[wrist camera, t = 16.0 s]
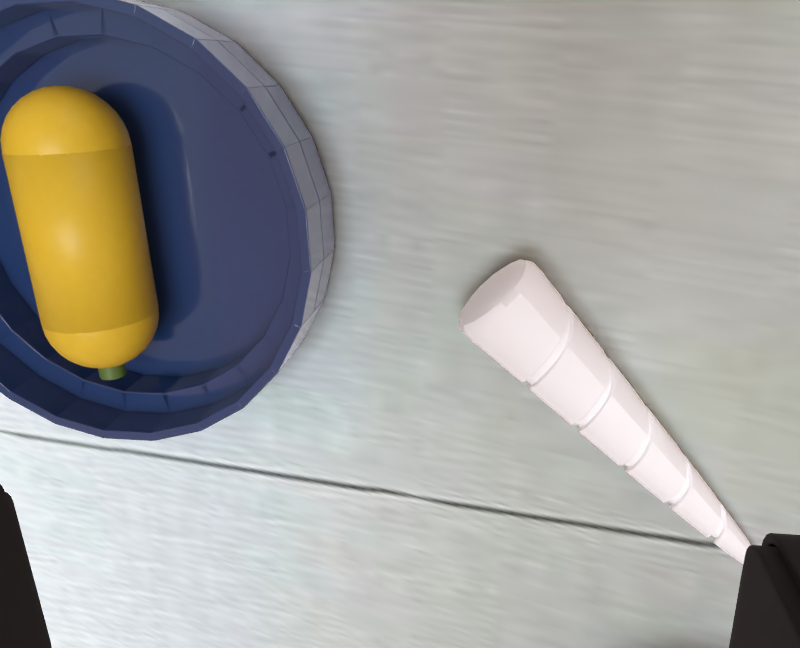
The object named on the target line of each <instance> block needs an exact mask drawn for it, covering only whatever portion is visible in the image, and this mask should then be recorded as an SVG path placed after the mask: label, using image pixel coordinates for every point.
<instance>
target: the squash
mask: <svg viewBox="0 0 800 648" xmlns="http://www.w3.org/2000/svg"><path fill="white" fill-rule="evenodd" d="M1 149H2V156H3V161H4V165H5V169H6V174H7V178H8V182H9V187H10V191H11V195H12V200H13V204H14V209H15V213H16V217H17V222H18V226H19V230H20V235H21V239H22V243H23V248H24V252H25V256H26V261H27V265H28V269H29V274H30V278H31V282H32V287H33V291H34V295H35V300H36V304H37V309H38V313H39V317H40V322H41V325H42V328H43V331H44V334H45V337H46V338H47V340H48V341H49V343H50V344H51V346H52V347H53V348H54V349H55V350H56V351H57V352H58V353H59V354H60V355H61V356H63V357H64V358H66V359H67V360H69V361H71V362H73V363H75V364H78V365H81V366H84V367H89V368H98V372H99V376H100V378H101V379H102V380H115V379H119V378H121V377H123V376H125V375H126V373H127V370H126V365H125V363H127V362H129V361H131V360H132V359H134V358H136V357H137V356H138V355H139V354H140V353H142V352H143V351H144V350H145V349H146V348H147V346H148V345H149V343H150V342H151V341H152V339H153V337H154V335H155V332H156V330H157V326H158V320H159V308H158V307H159V306H158V300H157V294H156V288H155V282H154V276H153V270H152V264H151V258H150V252H149V246H148V240H147V233H146V227H145V221H144V215H143V209H142V203H141V197H140V191H139V185H138V179H137V173H136V167H135V161H134V155H133V149H132V143H131V140H130V136H129V132H128V130H127V128H126V126H125V124H124V122H123V120H122V119H121V118H120V116H119V115H118V113H117V112H116V111H115V110H114V109H113V108H112V107H111V106H110V105H109V104H108V103H107V102H106V101H104V100H103V99H101V98H100V97H98V96H97V95H95V94H93V93H90V92H88V91H86V90H84V89H80V88H76V87H72V86H60V85H55V86H48V87H42V88H39V89H37V90H34V91H31V92H30V93H28V94H26V95H25V96H23V97H21V98H20V99H19V100H18V101H17V102H16V103H15V104H14V105H13V106H12V107H11V109H10V111H9V112H8V114H7V115H6V117H5V120H4V123H3V126H2V131H1Z"/></svg>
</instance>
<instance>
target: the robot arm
mask: <svg viewBox="0 0 800 648" xmlns="http://www.w3.org/2000/svg"><path fill="white" fill-rule="evenodd" d="M0 648H51V642H50V638H49V634H48V630H47V627H46V623H45V619H44V615H43V612H42V608H41V604H40V600H39V597H38V593H37V589H36V585H35V582H34V578H33V574H32V570H31V567H30V563H29V559H28V555H27V552H26V548H25V544H24V541H23V537H22V533H21V529H20V526H19V522H18V518H17V514H16V511H15V507H14V503H13V500H12V498H11V496H10V495H9V494H8V493H6V492H5V491H4V489H3V487H2V486H1V485H0ZM729 648H800V535H790V534H775V533H770V534H767V535H766V537H765V538H764V540H763V543H762V546H758V545H750V546H749V547H748V548H747V550H746V554H745V558H744V564H743V570H742V575H741V581H740V587H739V593H738V599H737V605H736V610H735V616H734V622H733V628H732V634H731V639H730V645H729Z"/></svg>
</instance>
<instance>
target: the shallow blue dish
mask: <svg viewBox="0 0 800 648" xmlns="http://www.w3.org/2000/svg"><path fill="white" fill-rule="evenodd" d="M55 85H60V86H72V87H76V88H80V89H84V90H86V91H88V92H90V93H93V94H95V95H97V96H98V97H100V98H101V99H103V100H104V101H106V102H107V103H108V104H109V105H110V106H111V107H112V108H113V109H114V110H115V111H116V112H117V113H118V115H119V116H120V118H121V119H122V120H123V122H124V124H125V126H126V128H127V130H128V132H129V136H130V140H131V143H132V149H133V155H134V161H135V167H136V173H137V179H138V185H139V191H140V197H141V203H142V209H143V215H144V221H145V227H146V233H147V240H148V246H149V252H150V258H151V264H152V270H153V276H154V282H155V288H156V294H157V300H158V306H159V307H158V308H159V320H158V326H157V330H156V332H155V335H154V337H153V339H152V341H151V342H150V343H149V345H148V346H147V348H146V349H145V350H144V351H143V352H142V353H140V354H139V355H138V356H137V357H136V358H134V359H132V360H131V361H129V362H127V363H125V365H126V370H127V373H126V375H125V376H123V377H121V378H119V379H115V380H102V379H101V378H100V376H99V372H98V368H89V367H84V366H81V365H78V364H75V363H73V362H71V361H69V360H67V359H66V358H64V357H63V356H61V355H60V354H59V353H58V352H57V351H56V350H55V349H54V348H53V347H52V346H51V344H50V343H49V341H48V340H47V338H46V337H45V334H44V331H43V328H42V325H41V322H40V317H39V313H38V309H37V304H36V300H35V295H34V291H33V287H32V282H31V278H30V274H29V269H28V265H27V261H26V256H25V252H24V248H23V243H22V239H21V235H20V230H19V226H18V222H17V217H16V213H15V209H14V204H13V200H12V195H11V191H10V187H9V182H8V178H7V174H6V169H5V165H4V161H3V156H2V149H1V131H2V126H3V123H4V120H5V117H6V115H7V114H8V112H9V111H10V109H11V107H12V106H13V105H14V104H15V103H16V102H17V101H18V100H19V99H20V98H21V97H23V96H25V95H26V94H28V93H30V92H31V91H34V90H37V89H39V88H42V87H48V86H55ZM330 193H331V192H330V189H329V186H328V183H327V180H326V176H325V173H324V170H323V167H322V164H321V161H320V158H319V155H318V152H317V149H316V146H315V143H314V140H313V138H312V137H311V134H310V133H309V131H308V129H307V128H306V126H305V125H304V123H303V121H302V120H301V118H300V117H299V115H298V113H297V112H296V110H295V109H294V107H293V105H292V104H291V102H290V101H289V99H288V97H287V96H286V94H285V93H284V91H283V89H282V88H281V87H280V86H279V84H278V83H277V82H276V81H275V80H274V79H273V78H272V77H271V76H270V75H269V74H268V73H267V72H266V71H265V70H264V69H263V68H262V67H261V66H260V65H259V64H258V63H257V62H256V61H255V60H254V59H253V58H252V57H251V56H250V55H249V54H248V53H246V52H245V51H244V50H243V49H242V48H241V47H240V46H239V45H238V44H237V43H236V42H235V41H233V40H231V39H230V38H228V37H226V36H224V35H223V34H221V33H219V32H217V31H216V30H214V29H212V28H210V27H209V26H207V25H205V24H203V23H202V22H200V21H198V20H196V19H195V18H193V17H191V16H189V15H188V14H186V13H184V12H182V11H178V10H174V9H170V8H166V7H162V6H158V5H154V4H150V3H146V2H142V1H138V0H0V392H1V393H2V394H4V395H5V396H6V397H8V398H9V399H11V400H13V401H14V402H16V403H18V404H20V405H22V406H24V407H25V408H27V409H29V410H31V411H33V412H35V413H36V414H38V415H40V416H42V417H44V418H46V419H47V420H49V421H51V422H53V423H55V424H58V425H61V426H65V427H68V428H71V429H75V430H78V431H82V432H85V433H88V434H92V435H95V436H99V437H102V438H111V439H130V440H149V441H153V440H154V441H155V440H160V439H165V438H169V437H174V436H179V435H184V434H188V433H193V432H198V431H201V430H204V429H206V428H207V427H209V426H211V425H213V424H215V423H217V422H219V421H220V420H222V419H224V418H226V417H228V416H230V415H232V414H234V413H235V412H237V411H239V410H241V409H243V408H244V407H245V406H246V405H247V404H248V403H249V402H250V401H251V400H252V399H253V398H254V397H255V396H256V395H257V394H258V393H259V392H260V391H261V390H262V389H263V388H264V387H265V386H266V385H267V384H268V383H269V382H270V381H271V380H272V379H273V377H274V376H275V375H276V374H277V373H278V372H279V371H280V369H281V368H282V367H283V366H284V364H285V363H286V362H287V360H288V359H289V358H290V357H291V355H292V354H293V353H294V351H295V350H296V349H297V348H298V346H299V345H300V344H301V343H302V341H303V340H304V338H305V336H306V334H307V332H308V330H309V328H310V326H311V324H312V322H313V320H314V318H315V317H316V315H317V313H318V311H319V309H320V307H321V305H322V303H323V301H324V298H325V295H326V289H327V284H328V279H329V274H330V269H331V264H332V259H333V254H334V248H335V245H334V230H333V216H332V201H331V194H330Z"/></svg>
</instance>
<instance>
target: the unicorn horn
mask: <svg viewBox="0 0 800 648" xmlns="http://www.w3.org/2000/svg"><path fill="white" fill-rule="evenodd" d="M459 324H460V330H461V331H462V332H463V333H464V334H465V335H466V336H467V337H468V338H469V339H470V340H471V341H473V342H474V343H475V344H476V345H477V346H479V347H480V348H481V349H482V350H483V351H485V352H486V353H487V354H488V355H489V356H491V357H492V358H493V359H494V360H495V361H496V362H498V363H499V364H500V365H501V366H502V367H504V368H505V369H506V370H507V371H508V372H509V373H511V374H512V375H513V376H514V377H515V378H516V379H518V380H519V381H520V382H524V381H527V382H528V383H529V385H528V389H529V390H531V391H532V392H533V393H534V394H535V395H536V396H538V397H539V398H540V399H541V400H542V401H543V402H545V403H546V404H547V405H548V406H549V407H550V408H552V409H553V410H554V411H555V412H556V413H557V414H559V415H560V416H561V417H562V418H563V419H564V420H566V421H567V422H568V423H569V424H570V425H574V424H577V425H578V432H580V433H581V434H582V435H583V436H584V437H586V438H587V439H588V440H589V441H590V442H591V443H593V444H594V445H595V446H596V447H597V448H599V449H600V450H601V451H602V452H603V453H605V454H606V455H607V456H608V457H609V458H610V459H612V460H613V461H614V462H615V463H616V464H618V465H619V466H621V465H623V464H625V471H626V472H627V473H628V474H629V475H631V476H632V477H633V478H634V479H635V480H637V481H638V482H639V483H640V484H641V485H643V486H644V487H645V488H646V489H648V490H649V491H650V492H651V493H652V494H654V495H655V496H656V497H657V498H658V499H660V500H661V501H662V502H663V503H666V502H668V501H669V502H670V508H671V509H672V510H673V511H674V512H676V513H677V514H678V515H679V516H681V517H682V518H683V519H684V520H686V521H687V522H688V523H689V524H691V525H692V526H693V527H694V528H696V529H697V530H698V531H699V532H701V533H702V534H703V535H704V536H706V537H707V538H708V537H710V536H713V537H714V538H715V540H714V541H713V543H715V544H716V545H717V546H719V547H720V548H721V549H722V550H724V551H725V552H726V553H728V554H729V555H730V556H732V557H733V558H734V559H736V560H737V561H738V562H740V563H741V564H742V565H743V564H744V558H745V554H746V550H747V548H748V547H749V546H750V545H751V544H750V543H749V541H748V539H747V538H746V536H745V535H744V534H743V532H742V531H741V529H740V528H739V527H738V525H737V524H736V523H735V521H734V520H733V518H732V517H731V516H730V514H729V513H728V512H727V510H726V509H725V508H724V506H723V505H722V504H721V502H720V501H718V499H717V498H716V496H715V494H714V493H713V492H712V490H711V489H710V488H709V486H708V485H707V484H706V482H705V481H704V480H703V478H702V477H701V476H700V474H699V473H698V472H697V470H696V469H695V468H694V466H693V465H692V464H691V463H690V461H689V460H688V459H687V457H686V456H685V455H684V454H683V453H682V452H681V450H680V448H679V447H678V446H677V444H676V443H675V442H674V440H673V439H672V438H671V436H670V435H669V434H668V433H667V431H666V430H665V429H664V427H663V426H662V425H661V424H660V422H659V421H658V420H657V418H656V417H655V416H654V415H653V413H652V412H651V411H650V409H649V408H648V407H646V406H645V405H644V403H643V401H642V399H641V398H640V397H639V395H638V394H637V393H636V391H635V390H634V389H633V387H632V386H631V385H630V384H629V382H628V381H627V380H626V379H625V377H624V376H623V375H622V373H621V372H620V371H619V370H618V368H617V367H616V366H615V365H614V363H613V362H612V361H611V359H610V358H608V357H607V356H606V355H605V353H604V351H603V349H602V348H601V347H600V345H599V344H598V343H597V342H596V340H595V339H594V338H593V336H592V335H591V334H590V333H589V331H588V330H587V329H586V328H585V326H584V325H583V324H582V322H581V321H580V320H579V319H578V317H577V316H576V315H575V313H574V312H573V311H572V309H571V308H570V307H569V306H567V305H566V304H565V303H564V300H563V298H562V296H561V295H560V294H559V293H558V291H557V290H556V289H555V288H554V287H553V285H552V284H551V283H550V281H549V280H548V279H547V277H546V276H545V275H544V273H543V272H542V271H541V270H540V269H539V268H538V267H537V266H536V265H535V264H534V263H533V262H532V261H527V260H521V259H519V260H517V261H515V262H512V263H510V264H508V265H507V266H505V267H504V268H502V269H500V270H499V271H497V272H496V273H494V274H493V275H492V276H491V277H490V278H488V279H487V280H486V281H485V282H484V283H483V284H482V285H481V286H480V287H479V288H478V289H477V290H476V291H475V292H474V294H473V295H472V296H471V297H470V299H469V300H468V301H467V303H466V304H465V306H464V308H463V310H462V312H461V314H460V319H459Z"/></svg>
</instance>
